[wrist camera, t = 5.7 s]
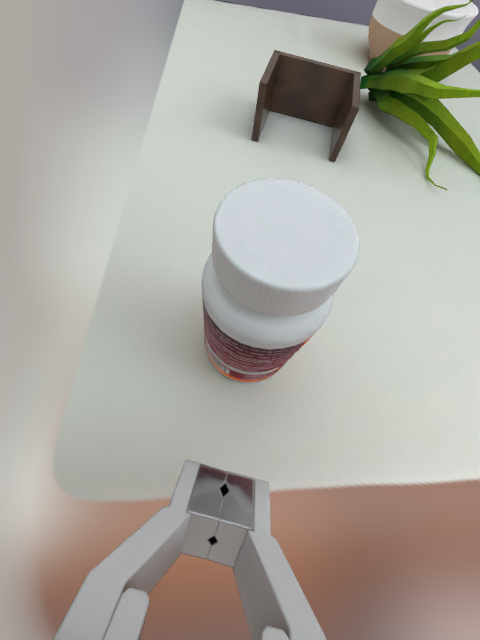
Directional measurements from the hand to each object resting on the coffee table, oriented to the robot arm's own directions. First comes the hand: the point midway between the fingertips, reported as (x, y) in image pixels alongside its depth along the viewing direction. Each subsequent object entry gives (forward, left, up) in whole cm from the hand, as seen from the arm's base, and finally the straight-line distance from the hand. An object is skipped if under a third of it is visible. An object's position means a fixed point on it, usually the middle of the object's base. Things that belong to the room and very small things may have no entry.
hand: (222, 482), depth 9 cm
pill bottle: (0, +8, -7) cm, 11 cm away
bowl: (+15, +71, -7) cm, 73 cm away
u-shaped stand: (0, +39, -7) cm, 40 cm away
